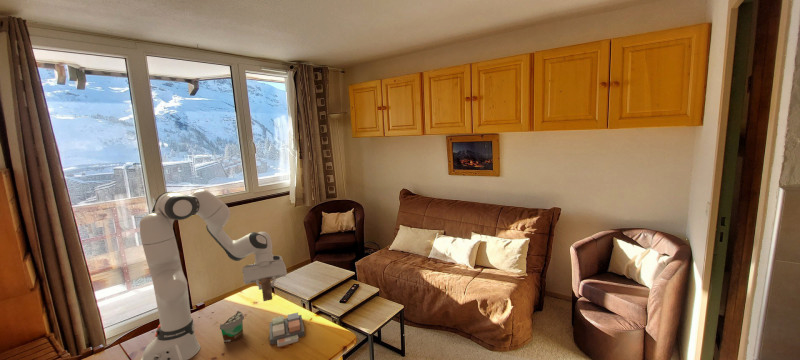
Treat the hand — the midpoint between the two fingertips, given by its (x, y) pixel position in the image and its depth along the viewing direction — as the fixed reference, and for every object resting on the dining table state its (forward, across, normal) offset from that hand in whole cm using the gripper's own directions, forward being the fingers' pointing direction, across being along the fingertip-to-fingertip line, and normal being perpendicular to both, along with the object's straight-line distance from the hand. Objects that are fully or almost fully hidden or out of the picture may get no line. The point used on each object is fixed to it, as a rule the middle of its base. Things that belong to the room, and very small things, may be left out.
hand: (266, 287), depth 159 cm
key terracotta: (+21, +11, +2) cm, 24 cm away
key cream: (+21, +4, +2) cm, 22 cm away
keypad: (+22, +7, +6) cm, 24 cm away
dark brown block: (+4, 0, +5) cm, 6 cm away
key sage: (+17, +4, +7) cm, 18 cm away
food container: (+17, -15, +11) cm, 25 cm away
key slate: (+17, +11, +7) cm, 21 cm away
